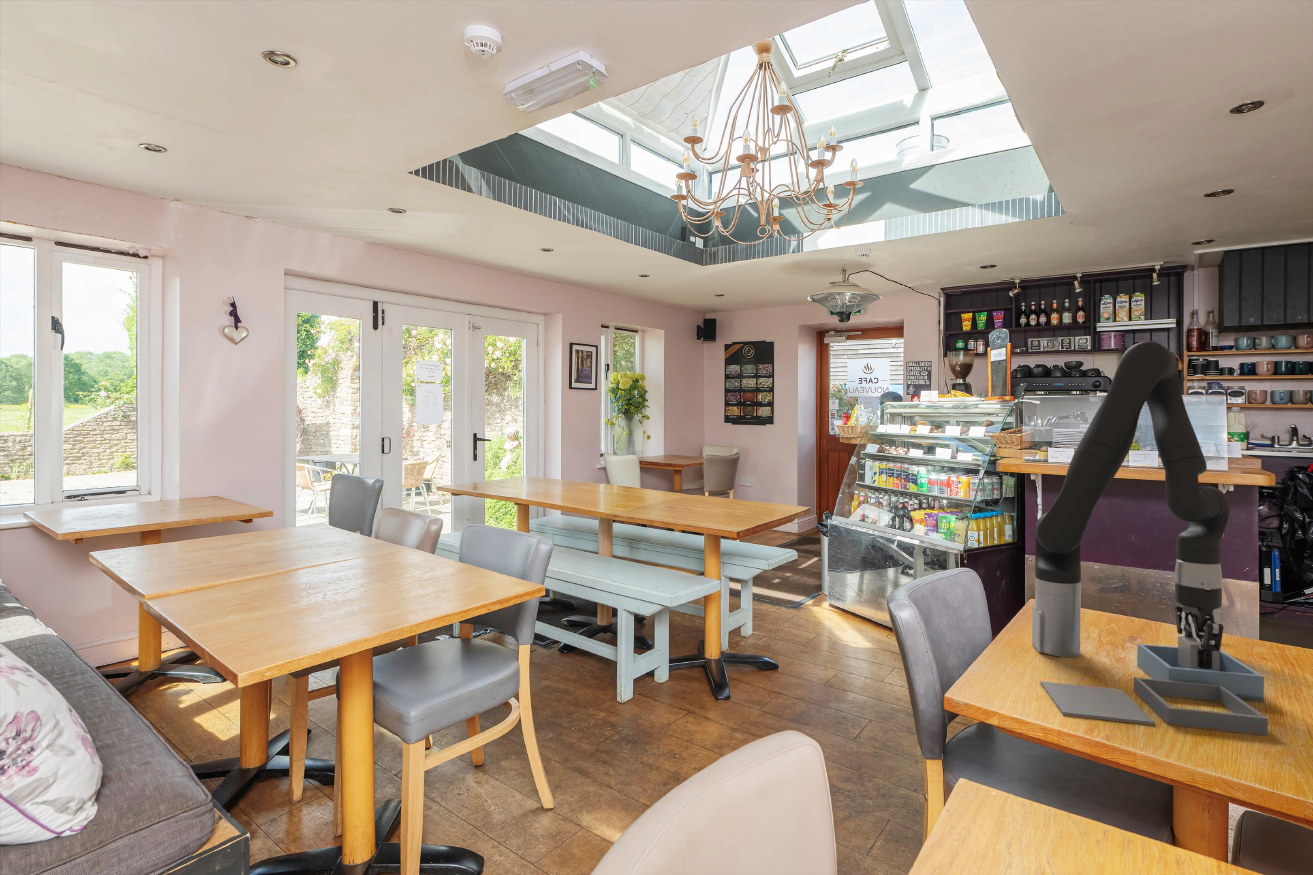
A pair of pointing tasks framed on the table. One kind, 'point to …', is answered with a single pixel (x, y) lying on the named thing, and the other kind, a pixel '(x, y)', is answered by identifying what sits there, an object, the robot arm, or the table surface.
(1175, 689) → the gray square frame
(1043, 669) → the table surface
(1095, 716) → the bin lid
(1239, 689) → the slate blue bin
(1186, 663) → the stone block
